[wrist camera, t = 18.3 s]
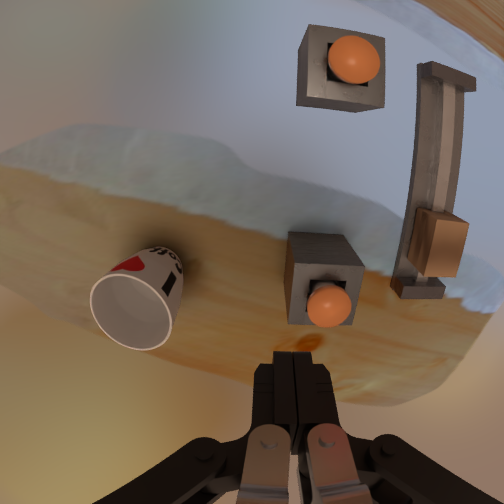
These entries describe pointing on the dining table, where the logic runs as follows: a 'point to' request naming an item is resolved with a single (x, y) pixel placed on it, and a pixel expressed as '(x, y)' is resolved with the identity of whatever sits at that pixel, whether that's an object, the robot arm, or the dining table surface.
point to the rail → (432, 165)
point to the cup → (139, 298)
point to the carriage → (437, 243)
